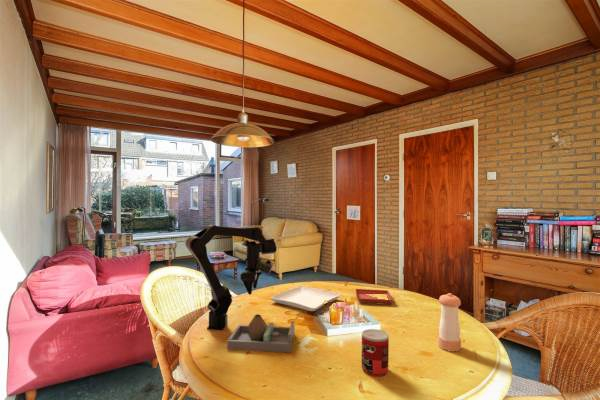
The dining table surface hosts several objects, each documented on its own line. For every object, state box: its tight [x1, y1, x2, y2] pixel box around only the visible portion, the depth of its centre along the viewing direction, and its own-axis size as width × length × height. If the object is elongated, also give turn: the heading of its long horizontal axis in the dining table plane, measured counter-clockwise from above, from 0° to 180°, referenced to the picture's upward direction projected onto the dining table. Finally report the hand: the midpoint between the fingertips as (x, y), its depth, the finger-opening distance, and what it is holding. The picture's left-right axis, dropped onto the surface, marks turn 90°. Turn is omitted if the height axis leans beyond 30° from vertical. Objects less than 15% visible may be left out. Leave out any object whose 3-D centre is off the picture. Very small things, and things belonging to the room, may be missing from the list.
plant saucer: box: [355, 288, 394, 305], centre depth 163 cm, size 18×18×3 cm
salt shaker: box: [437, 292, 462, 352], centre depth 109 cm, size 7×7×19 cm
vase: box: [248, 313, 268, 341], centre depth 112 cm, size 7×7×9 cm
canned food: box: [361, 328, 390, 377], centre depth 94 cm, size 8×8×11 cm
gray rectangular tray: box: [226, 320, 296, 353], centre depth 112 cm, size 22×14×6 cm, turn 85°
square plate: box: [269, 285, 342, 312], centre depth 158 cm, size 27×27×4 cm
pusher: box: [264, 322, 279, 342], centre depth 112 cm, size 4×11×4 cm, turn 175°
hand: (252, 291), depth 134 cm, fingers open, 9 cm apart
